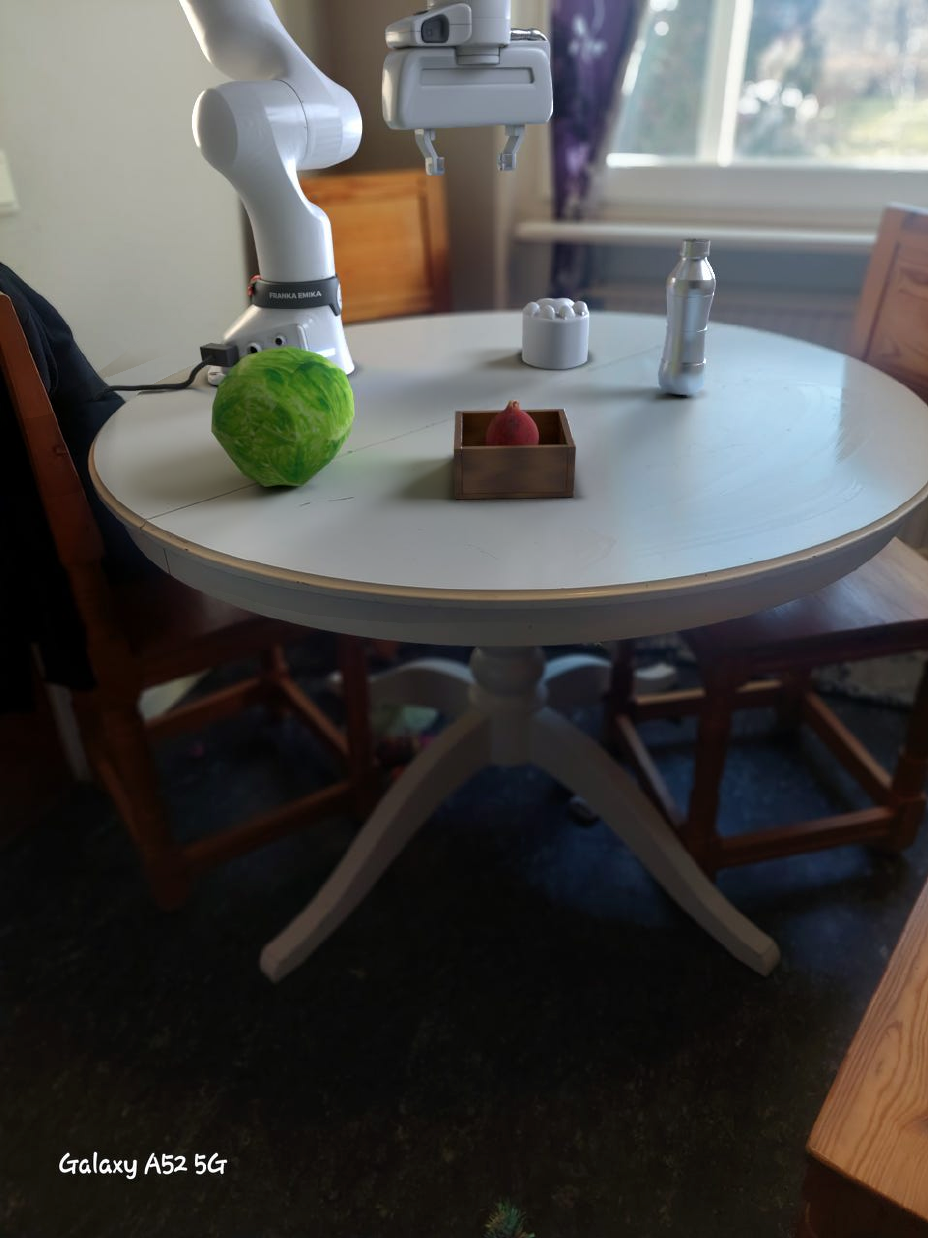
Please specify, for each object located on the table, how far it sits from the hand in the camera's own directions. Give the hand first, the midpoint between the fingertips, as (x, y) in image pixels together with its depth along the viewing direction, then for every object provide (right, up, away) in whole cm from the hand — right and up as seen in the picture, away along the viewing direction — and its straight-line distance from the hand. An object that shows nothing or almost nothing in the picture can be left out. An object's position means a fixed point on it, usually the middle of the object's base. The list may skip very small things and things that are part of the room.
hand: (471, 172), depth 100 cm
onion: (+5, -35, -2) cm, 35 cm away
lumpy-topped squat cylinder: (+14, -9, +41) cm, 44 cm away
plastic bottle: (+30, -19, +23) cm, 42 cm away
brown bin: (+4, -35, -2) cm, 35 cm away
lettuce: (-20, -33, +3) cm, 39 cm away
